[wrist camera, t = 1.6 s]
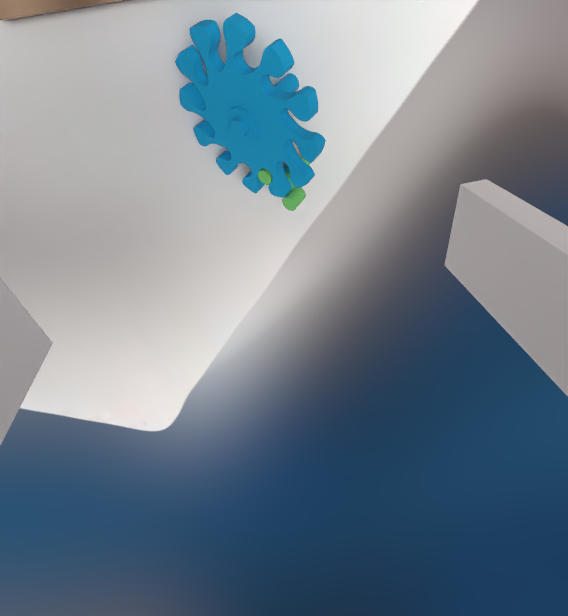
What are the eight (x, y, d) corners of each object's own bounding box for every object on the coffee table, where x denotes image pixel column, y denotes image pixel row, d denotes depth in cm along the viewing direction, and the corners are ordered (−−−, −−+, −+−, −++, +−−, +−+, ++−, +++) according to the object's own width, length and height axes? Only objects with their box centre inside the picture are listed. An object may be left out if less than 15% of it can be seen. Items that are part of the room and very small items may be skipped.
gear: (140, 60, 20) (254, -16, 14) (205, 20, 23) (328, -61, 16) (235, 216, 27) (342, 216, 21) (277, 173, 30) (385, 160, 23)
